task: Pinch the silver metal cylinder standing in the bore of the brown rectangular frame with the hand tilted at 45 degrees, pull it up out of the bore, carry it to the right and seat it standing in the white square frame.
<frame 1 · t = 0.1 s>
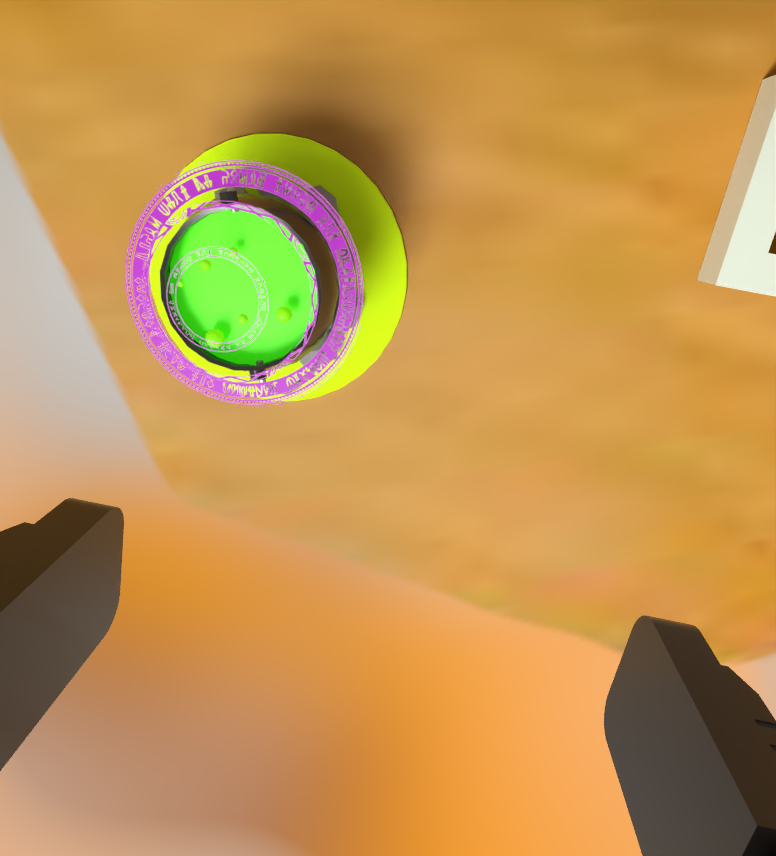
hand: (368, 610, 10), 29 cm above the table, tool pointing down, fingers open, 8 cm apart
toy cauldron: (278, 274, 38), on the table
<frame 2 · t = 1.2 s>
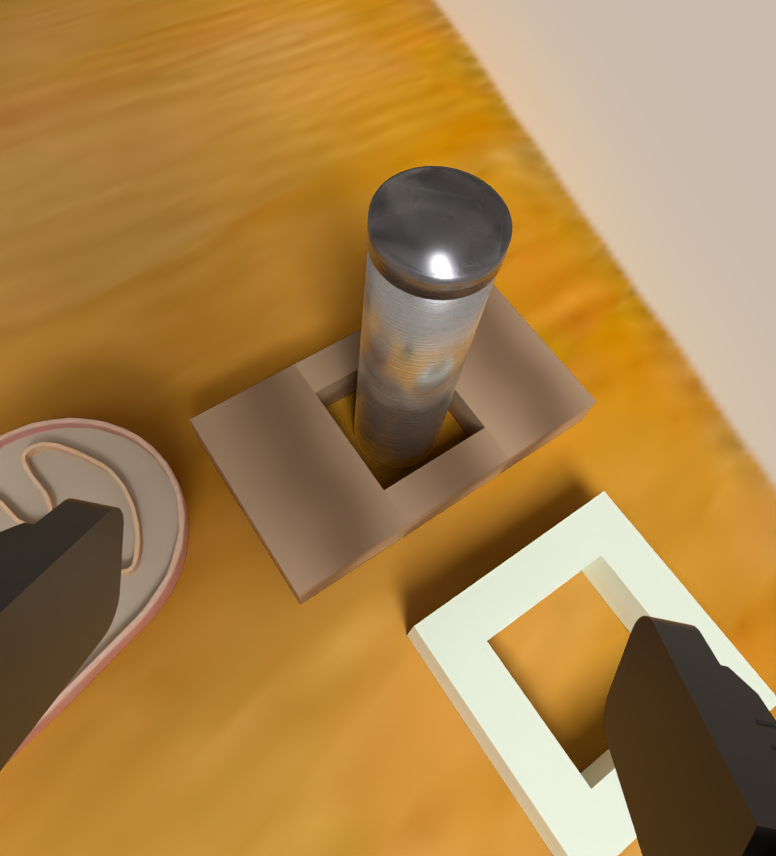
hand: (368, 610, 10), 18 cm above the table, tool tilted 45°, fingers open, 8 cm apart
silver metal cylinder: (412, 350, 25), in the brown rectangular frame
white square frame: (574, 669, 27), on the table
brown rectangular frame: (395, 429, 31), on the table
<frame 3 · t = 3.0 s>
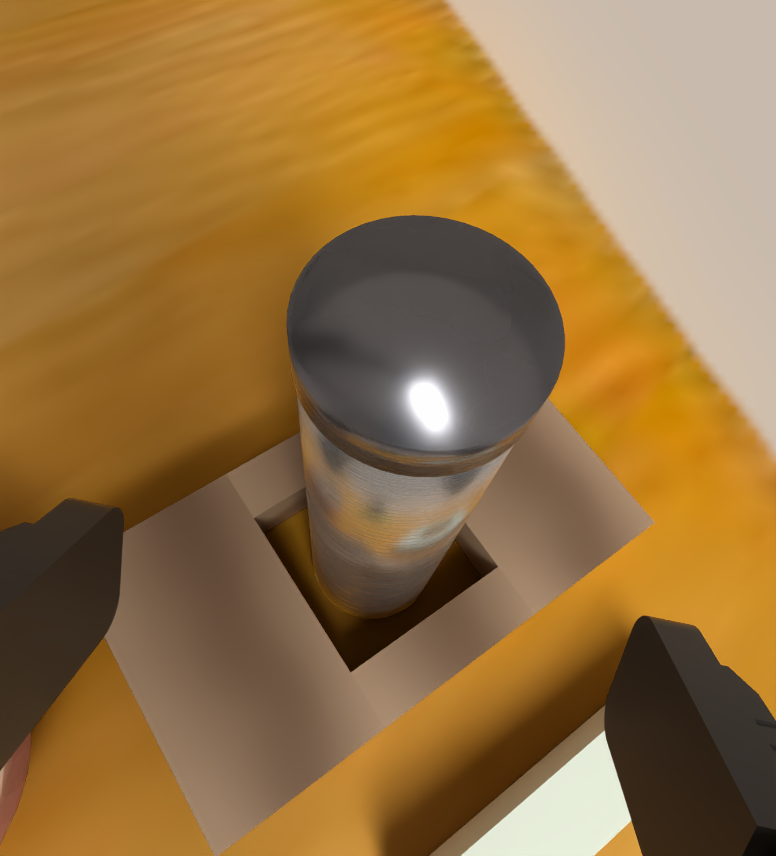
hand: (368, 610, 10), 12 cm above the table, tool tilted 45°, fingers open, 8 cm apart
silver metal cylinder: (388, 486, 16), in the brown rectangular frame
brown rectangular frame: (372, 558, 22), on the table
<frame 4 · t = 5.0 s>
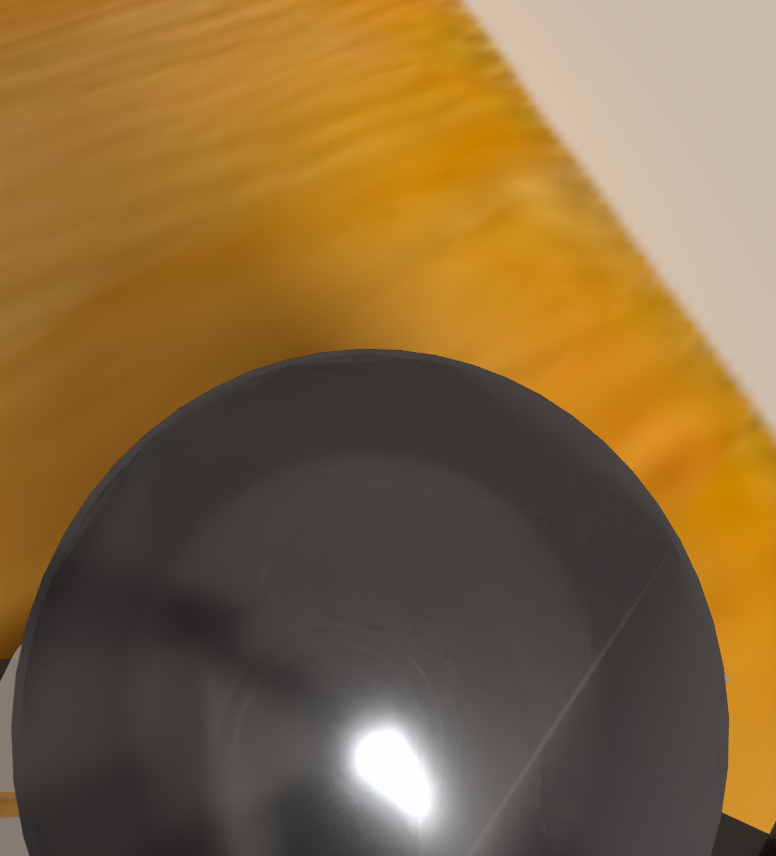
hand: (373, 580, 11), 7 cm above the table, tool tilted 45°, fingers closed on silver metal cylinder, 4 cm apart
silver metal cylinder: (350, 704, 10), in the brown rectangular frame, touching gripper
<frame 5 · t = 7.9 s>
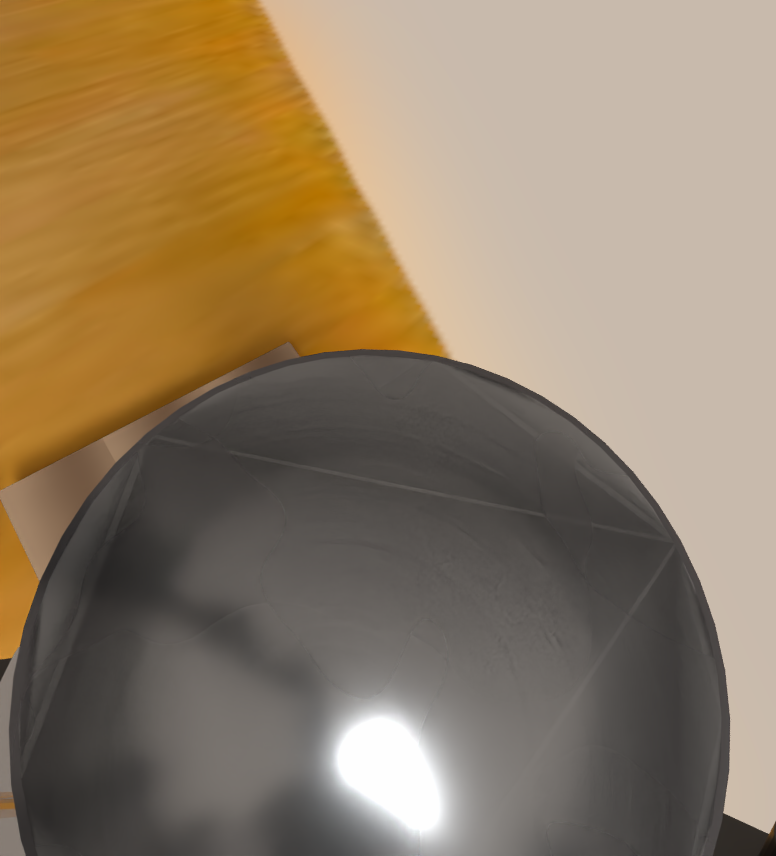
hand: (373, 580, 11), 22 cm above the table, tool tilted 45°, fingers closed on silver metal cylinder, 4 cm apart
silver metal cylinder: (351, 705, 10), point 22 cm above the table, touching gripper
brown rectangular frame: (202, 494, 34), on the table
when the fingers open (8 cm above the table, at t = 10.8 s): silver metal cylinder stays where it is, resting in white square frame.
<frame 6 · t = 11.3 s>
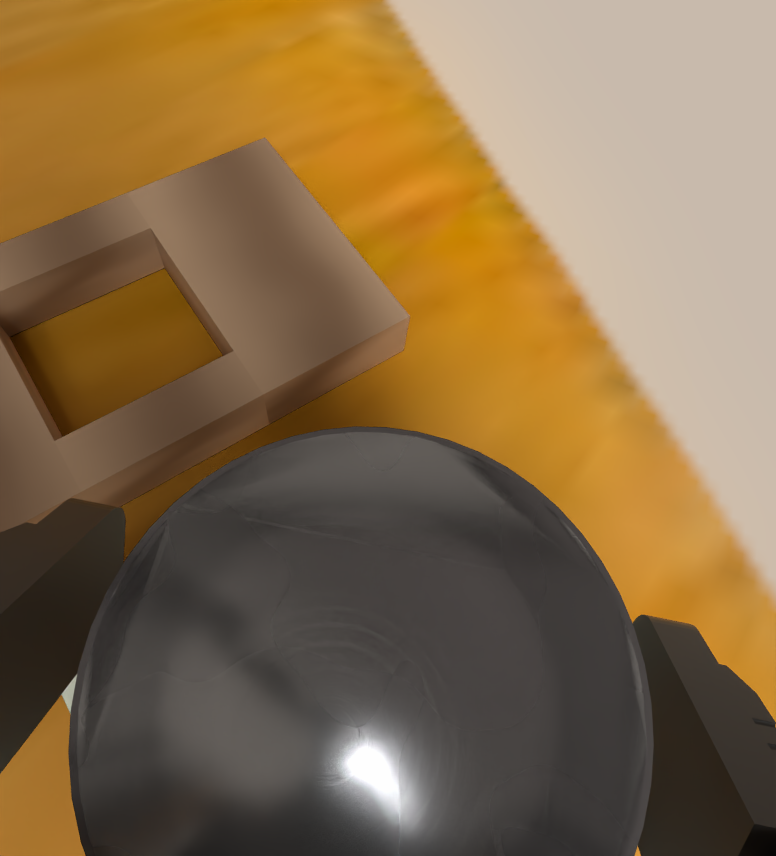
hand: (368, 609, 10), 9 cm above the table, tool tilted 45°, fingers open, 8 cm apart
silver metal cylinder: (346, 717, 11), in the white square frame
brown rectangular frame: (125, 360, 21), on the table
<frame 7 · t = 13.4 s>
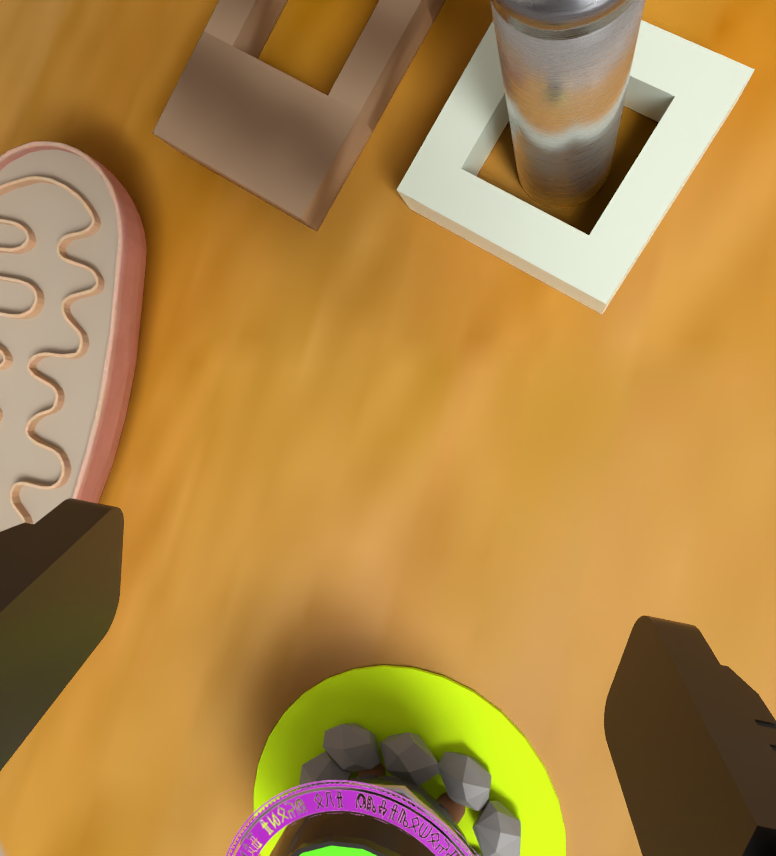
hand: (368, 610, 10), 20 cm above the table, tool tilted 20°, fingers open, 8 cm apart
silver metal cylinder: (565, 80, 22), in the white square frame
toy cauldron: (402, 821, 31), on the table
white square frame: (563, 158, 29), on the table
brown rectangular frame: (324, 39, 31), on the table
mitochondrion model: (88, 394, 35), on the table
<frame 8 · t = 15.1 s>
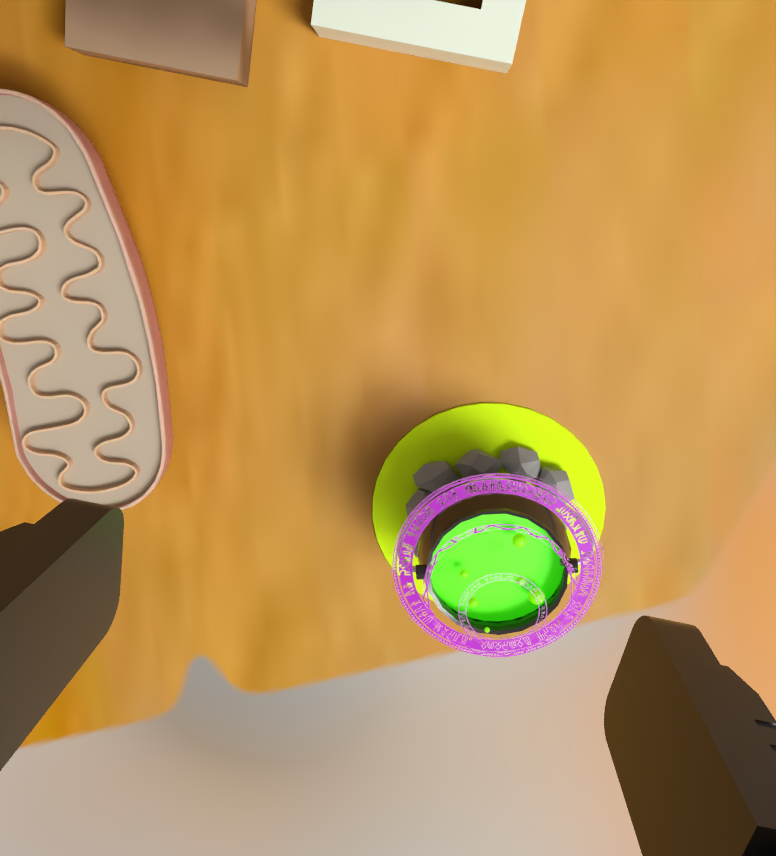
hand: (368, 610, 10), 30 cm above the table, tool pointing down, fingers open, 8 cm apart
toy cauldron: (486, 510, 43), on the table
mitochondrion model: (104, 307, 40), on the table
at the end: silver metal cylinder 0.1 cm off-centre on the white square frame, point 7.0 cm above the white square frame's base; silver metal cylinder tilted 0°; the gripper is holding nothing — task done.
